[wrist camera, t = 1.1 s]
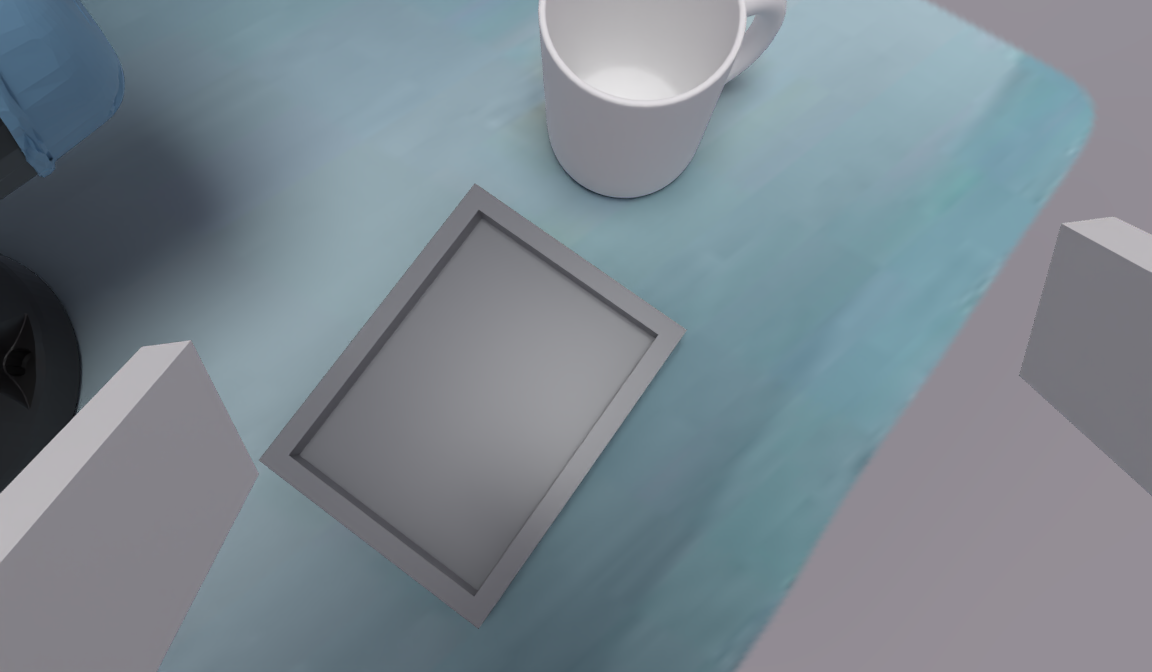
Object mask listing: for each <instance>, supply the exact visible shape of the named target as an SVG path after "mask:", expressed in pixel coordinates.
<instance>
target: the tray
mask: <svg viewBox="0 0 1152 672" xmlns="http://www.w3.org/2000/svg"><path fill="white" fill-rule="evenodd" d="M686 331H687V330H686V329H685V328H683V327H682V326H680V325H679V324H677V323H676V322H674V321H673V320H672V319H670V318H669V317H667V316H666V315H664V314H663V313H661V312H660V311H659V310H657V309H656V308H654V307H653V306H651V305H650V304H648V303H647V302H646V301H644V300H643V299H641V298H640V297H638V296H637V295H635V294H634V293H633V292H631V291H630V290H628V289H627V288H625V287H624V286H622V285H621V284H620V283H618V282H617V281H615V280H614V279H612V278H611V277H609V276H608V275H607V274H605V273H604V272H602V271H601V270H599V269H598V268H596V267H595V266H594V265H592V264H591V263H589V262H588V261H586V260H585V259H583V258H582V257H581V256H579V255H578V254H576V253H575V252H573V251H572V250H570V249H569V248H568V247H566V246H565V245H563V244H562V243H560V242H559V241H557V240H556V239H555V238H553V237H552V236H550V235H549V234H547V233H546V232H544V231H543V230H542V229H540V228H539V227H537V226H536V225H534V224H533V223H531V222H530V221H529V220H527V219H526V218H524V217H523V216H521V215H520V214H518V213H517V212H516V211H514V210H513V209H511V208H510V207H508V206H507V205H505V204H504V203H503V202H501V201H500V200H498V199H497V198H495V197H494V196H492V195H491V194H490V193H488V192H487V191H485V190H484V189H482V188H481V187H479V186H478V185H477V184H474V185H473V187H472V188H471V189H470V190H469V192H468V193H467V194H466V196H465V197H464V198H463V199H462V201H461V202H460V203H459V204H458V206H457V207H456V208H455V210H454V211H453V212H452V213H451V215H450V216H449V217H448V219H447V220H446V221H445V222H444V224H443V225H442V226H441V228H440V229H439V230H438V231H437V233H436V234H435V235H434V236H433V238H432V239H431V240H430V242H429V243H428V244H427V245H426V247H425V248H424V249H423V251H422V252H421V253H420V254H419V256H418V257H417V258H416V260H415V261H414V262H413V263H412V265H411V266H410V267H409V268H408V270H407V271H406V272H405V274H404V275H403V276H402V277H401V279H400V280H399V281H398V283H397V284H396V285H395V286H394V288H393V289H392V290H391V292H390V293H389V294H388V295H387V297H386V298H385V299H384V300H383V302H382V303H381V304H380V306H379V307H378V308H377V309H376V311H375V312H374V313H373V315H372V316H371V317H370V318H369V320H368V321H367V322H366V324H365V325H364V326H363V327H362V329H361V330H360V331H359V332H358V334H357V335H356V336H355V338H354V339H353V340H352V341H351V343H350V344H349V345H348V347H347V348H346V349H345V350H344V352H343V353H342V354H341V356H340V357H339V358H338V359H337V361H336V362H335V363H334V364H333V366H332V367H331V368H330V370H329V371H328V372H327V373H326V375H325V376H324V377H323V379H322V380H321V381H320V382H319V384H318V385H317V386H316V388H315V389H314V390H313V391H312V393H311V394H310V395H309V396H308V398H307V399H306V400H305V402H304V403H303V404H302V405H301V407H300V408H299V409H298V411H297V412H296V413H295V414H294V416H293V417H292V418H291V420H290V421H289V422H288V423H287V425H286V426H285V427H284V428H283V430H282V431H281V432H280V434H279V435H278V436H277V437H276V439H275V440H274V441H273V443H272V444H271V445H270V446H269V448H268V449H267V450H266V452H265V453H264V454H263V455H262V457H261V458H260V459H259V461H260V462H262V463H263V464H264V465H266V466H267V467H268V468H269V469H271V470H272V471H273V472H275V473H276V474H277V475H279V476H280V477H281V478H283V479H284V480H285V481H286V482H288V483H289V484H290V485H292V486H293V487H294V488H296V489H297V490H298V491H299V492H301V493H302V494H303V495H305V496H306V497H307V498H309V499H310V500H311V501H312V502H314V503H315V504H316V505H318V506H319V507H320V508H322V509H323V510H324V511H326V512H327V513H328V514H329V515H331V516H332V517H333V518H335V519H336V520H337V521H339V522H340V523H341V524H342V525H344V526H345V527H346V528H348V529H349V530H350V531H352V532H353V533H354V534H355V535H357V536H358V537H359V538H361V539H362V540H363V541H365V542H366V543H367V544H369V545H370V546H371V547H372V548H374V549H375V550H376V551H378V552H379V553H380V554H382V555H383V556H384V557H385V558H387V559H388V560H389V561H391V562H392V563H393V564H395V565H396V566H397V567H398V568H400V569H401V570H402V571H404V572H405V573H406V574H408V575H409V576H410V577H411V578H413V579H414V580H415V581H417V582H418V583H419V584H421V585H422V586H423V587H425V588H426V589H427V590H428V591H430V592H431V593H432V594H434V595H435V596H436V597H438V598H439V599H440V600H441V601H443V602H444V603H445V604H447V605H448V606H449V607H451V608H452V609H453V610H454V611H456V612H457V613H458V614H460V615H461V616H462V617H464V618H465V619H466V620H468V621H469V622H470V623H471V624H473V625H474V626H475V627H477V628H478V629H479V627H480V626H481V625H482V623H483V622H484V620H485V619H486V617H487V616H488V615H489V613H490V612H491V610H492V609H493V607H494V606H495V605H496V603H497V602H498V600H499V599H500V597H501V596H502V594H503V593H504V592H505V590H506V589H507V587H508V586H509V584H510V583H511V582H512V580H513V579H514V577H515V576H516V574H517V573H518V572H519V570H520V569H521V567H522V566H523V564H524V563H525V561H526V560H527V559H528V557H529V556H530V554H531V553H532V551H533V550H534V549H535V547H536V546H537V544H538V543H539V541H540V540H541V539H542V537H543V536H544V534H545V533H546V531H547V530H548V528H549V527H550V526H551V524H552V523H553V521H554V520H555V518H556V517H557V516H558V514H559V513H560V511H561V510H562V508H563V507H564V506H565V504H566V503H567V501H568V500H569V498H570V497H571V496H572V494H573V493H574V491H575V490H576V488H577V487H578V485H579V484H580V483H581V481H582V480H583V478H584V477H585V475H586V474H587V473H588V471H589V470H590V468H591V467H592V465H593V464H594V463H595V461H596V460H597V458H598V457H599V455H600V454H601V452H602V451H603V450H604V448H605V447H606V445H607V444H608V442H609V441H610V440H611V438H612V437H613V435H614V434H615V432H616V431H617V430H618V428H619V427H620V425H621V424H622V422H623V421H624V419H625V418H626V417H627V415H628V414H629V412H630V411H631V409H632V408H633V407H634V405H635V404H636V402H637V401H638V399H639V398H640V397H641V395H642V394H643V392H644V391H645V389H646V388H647V386H648V385H649V384H650V382H651V381H652V379H653V378H654V376H655V375H656V374H657V372H658V371H659V369H660V368H661V366H662V365H663V364H664V362H665V361H666V359H667V358H668V356H669V355H670V354H671V352H672V351H673V349H674V348H675V346H676V345H677V343H678V342H679V341H680V339H681V338H682V336H683V335H684V333H685V332H686Z"/></svg>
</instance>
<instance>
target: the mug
mask: <svg viewBox="0 0 1152 672" xmlns="http://www.w3.org/2000/svg"><path fill="white" fill-rule="evenodd" d="M785 14H786V0H539V8H538V15H539V28H540V41H541V54H542V67H543V80H544V93H545V106H546V118H547V129H548V134H549V139H550V143H551V146H552V149H553V151H554V154H555V156H556V157H557V159H558V161H559V163H560V164H561V166H562V167H563V168H564V170H565V171H566V172H567V173H568V174H569V175H570V176H571V177H572V178H573V179H574V180H575V181H577V182H578V183H579V184H581V185H582V186H584V187H585V188H587V189H589V190H591V191H594V192H596V193H599V194H602V195H605V196H610V197H616V198H632V197H639V196H644V195H647V194H650V193H653V192H656V191H658V190H660V189H662V188H664V187H665V186H667V185H668V184H670V183H671V182H672V181H673V180H675V179H676V178H677V177H678V176H679V175H680V174H681V173H682V172H683V171H684V169H685V168H686V167H687V166H688V164H689V163H690V161H691V160H692V158H693V156H694V154H695V152H696V150H697V148H698V146H699V144H700V141H701V139H702V137H703V134H704V132H705V130H706V127H707V125H708V123H709V120H710V118H711V116H712V113H713V111H714V109H715V106H716V104H717V101H718V99H719V97H720V94H721V92H722V90H723V87H724V85H725V84H726V83H727V82H729V81H731V80H732V79H734V78H735V77H736V76H738V75H739V74H741V73H742V72H743V71H744V70H746V69H747V68H748V67H749V66H750V65H751V64H752V63H754V62H755V61H756V60H757V59H758V58H759V57H760V56H761V54H762V53H763V52H764V51H765V50H766V49H767V47H768V46H769V45H770V43H771V42H772V41H773V39H774V38H775V36H776V34H777V33H778V31H779V29H780V27H781V25H782V23H783V21H784V17H785ZM752 15H755V18H754V20H753V22H752V24H751V26H750V27H749V29H748V30H747V31H746V32H745V29H746V18H747V17H749V16H752Z"/></svg>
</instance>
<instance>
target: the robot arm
mask: <svg viewBox="0 0 1152 672" xmlns="http://www.w3.org/2000/svg"><path fill="white" fill-rule="evenodd" d="M124 90H125V79H124V73H123V69H122V66H121V64H120V61H119V59H118V56H117V55H116V53H115V51H114V49H113V48H112V46H111V44H110V43H109V41H108V40H107V38H106V37H105V35H104V34H103V32H102V31H101V29H100V28H99V26H98V25H97V24H96V22H95V21H94V19H93V18H92V17H91V15H90V14H89V12H88V11H87V10H86V8H85V7H84V6H83V4H82V3H81V2H80V0H0V200H1V199H3V198H4V197H6V196H7V195H8V194H10V193H11V192H13V191H14V190H16V189H17V188H18V187H20V186H21V185H23V184H24V183H26V182H27V181H29V180H30V179H31V178H33V177H34V176H36V175H37V174H38V175H39V176H41V177H43V178H44V177H46V176H48V175H50V174H51V173H52V172H53V171H54V169H55V162H56V160H57V159H59V158H60V157H61V156H63V155H64V154H65V153H66V152H68V151H69V150H70V149H72V148H73V147H74V146H75V145H77V144H78V143H79V142H81V141H82V140H83V139H84V138H86V137H87V136H88V135H90V134H91V133H92V132H94V131H95V130H96V129H97V128H99V127H100V126H101V125H103V124H104V123H105V122H106V121H108V120H109V119H110V118H111V117H112V116H113V115H114V114H115V112H116V111H117V109H118V108H119V106H120V104H121V102H122V100H123V96H124ZM1019 376H1020V377H1021V378H1022V379H1024V380H1025V381H1026V382H1027V383H1028V384H1029V385H1030V386H1031V387H1032V388H1033V389H1034V390H1036V391H1037V392H1038V393H1039V394H1040V395H1041V396H1042V397H1043V398H1044V399H1045V400H1047V401H1048V402H1049V403H1050V404H1051V405H1052V406H1053V407H1054V408H1055V409H1057V410H1058V411H1059V412H1060V413H1061V414H1062V415H1063V416H1064V417H1065V418H1066V419H1068V420H1069V421H1070V422H1071V423H1072V424H1073V425H1074V426H1075V427H1076V428H1077V429H1079V430H1080V431H1081V432H1082V433H1083V434H1084V435H1085V436H1086V437H1087V438H1089V439H1090V440H1091V441H1092V442H1093V443H1094V444H1095V445H1096V446H1097V447H1098V448H1100V449H1101V450H1102V451H1103V452H1104V453H1105V454H1106V455H1107V456H1108V457H1109V458H1111V459H1112V460H1113V461H1114V462H1115V463H1116V464H1117V465H1118V466H1119V467H1120V468H1122V469H1123V470H1124V471H1125V472H1126V473H1127V474H1128V475H1129V476H1131V478H1133V479H1134V480H1135V481H1136V482H1137V483H1138V484H1139V485H1140V486H1141V487H1143V488H1144V489H1145V490H1146V491H1147V492H1148V493H1149V494H1150V495H1151V496H1152V235H1151V234H1149V233H1147V232H1145V231H1143V230H1140V229H1138V228H1136V227H1134V226H1132V225H1130V224H1128V223H1126V222H1124V221H1122V220H1120V219H1118V218H1116V217H1107V218H1100V219H1092V220H1084V221H1077V222H1069V223H1063V224H1061V227H1060V231H1059V234H1058V238H1057V242H1056V245H1055V249H1054V252H1053V256H1052V260H1051V263H1050V267H1049V270H1048V274H1047V277H1046V281H1045V285H1044V288H1043V292H1042V295H1041V299H1040V302H1039V306H1038V310H1037V314H1036V317H1035V320H1034V324H1033V328H1032V331H1031V335H1030V338H1029V342H1028V346H1027V349H1026V353H1025V356H1024V360H1023V363H1022V367H1021V371H1020V374H1019ZM79 380H80V364H79V353H78V347H77V342H76V338H75V334H74V331H73V328H72V325H71V323H70V320H69V318H68V316H67V314H66V312H65V310H64V308H63V306H62V305H61V303H60V301H59V300H58V298H57V297H56V296H55V294H54V293H53V292H52V291H51V289H50V288H49V287H48V286H47V285H46V284H45V283H44V282H43V281H42V280H41V279H40V278H39V277H38V276H37V275H35V274H34V273H33V272H32V271H30V270H29V269H27V268H26V267H25V266H23V265H21V264H19V263H18V262H16V261H14V260H12V259H10V258H8V257H6V256H3V255H0V672H157V670H158V668H159V666H160V664H161V662H162V661H163V659H164V657H165V655H166V653H167V651H168V649H169V647H170V645H171V643H172V641H173V639H174V637H175V635H176V633H177V632H178V630H179V628H180V626H181V624H182V622H183V620H184V618H185V616H186V614H187V612H188V610H189V608H190V606H191V604H192V603H193V601H194V599H195V597H196V595H197V593H198V591H199V589H200V587H201V585H202V583H203V581H204V579H205V577H206V575H207V574H208V572H209V570H210V568H211V566H212V564H213V562H214V560H215V558H216V556H217V554H218V552H219V550H220V548H221V546H222V545H223V543H224V541H225V539H226V537H227V535H228V533H229V531H230V529H231V527H232V525H233V523H234V521H235V519H236V517H237V516H238V514H239V512H240V510H241V508H242V506H243V504H244V502H245V500H246V498H247V496H248V494H249V492H250V490H251V488H252V486H253V485H254V483H255V481H256V479H257V477H258V475H259V473H258V471H257V469H256V467H255V465H254V463H253V462H252V460H251V458H250V456H249V454H248V452H247V450H246V448H245V446H244V444H243V442H242V440H241V438H240V436H239V434H238V432H237V430H236V428H235V426H234V424H233V422H232V420H231V418H230V416H229V414H228V412H227V410H226V408H225V406H224V404H223V402H222V400H221V398H220V396H219V394H218V392H217V390H216V388H215V386H214V384H213V382H212V380H211V378H210V376H209V374H208V373H207V371H206V369H205V367H204V365H203V363H202V361H201V359H200V357H199V355H198V353H197V351H196V349H195V347H194V345H193V343H192V341H191V340H189V341H181V342H174V343H167V344H159V345H152V346H144V347H141V348H140V349H139V350H138V351H137V352H136V353H135V354H134V355H133V356H132V357H131V359H130V360H129V361H128V362H127V363H126V364H125V365H124V366H123V367H122V368H121V369H120V370H119V371H118V372H117V373H116V374H115V375H114V376H113V377H112V378H111V379H110V380H109V381H108V382H107V383H106V384H105V385H104V387H103V388H102V389H101V390H100V391H99V392H98V393H97V394H96V395H95V396H94V397H93V398H92V399H91V400H90V401H89V402H88V403H87V404H86V405H85V406H84V407H83V408H82V409H81V410H80V411H79V412H78V413H77V415H76V416H75V417H74V418H73V414H74V411H75V407H76V402H77V397H78V391H79ZM72 418H73V419H72Z"/></svg>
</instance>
